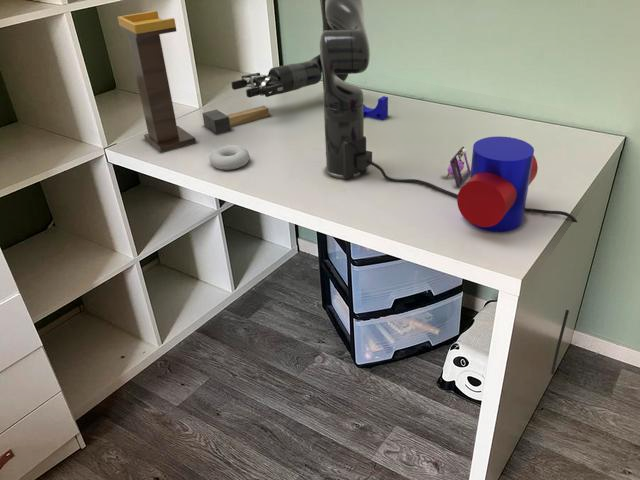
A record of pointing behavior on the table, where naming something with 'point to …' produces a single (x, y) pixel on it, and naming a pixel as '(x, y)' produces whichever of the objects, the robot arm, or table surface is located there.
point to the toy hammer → (232, 118)
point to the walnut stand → (156, 91)
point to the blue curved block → (378, 109)
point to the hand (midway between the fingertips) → (239, 89)
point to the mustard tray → (145, 22)
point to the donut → (229, 157)
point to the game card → (458, 167)
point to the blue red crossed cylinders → (498, 183)
